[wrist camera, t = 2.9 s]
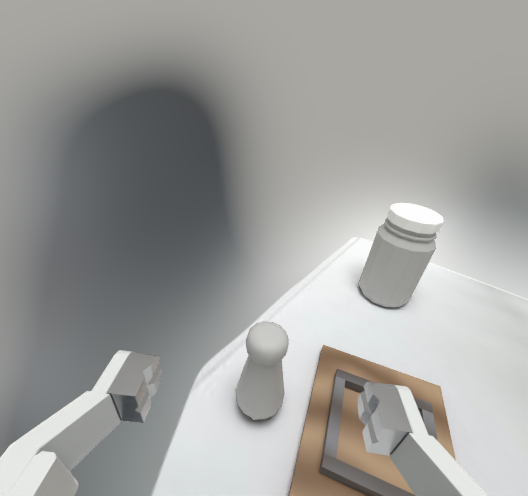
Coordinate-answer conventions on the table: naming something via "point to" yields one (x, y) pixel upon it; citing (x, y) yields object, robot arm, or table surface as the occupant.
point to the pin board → (356, 430)
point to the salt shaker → (263, 371)
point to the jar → (400, 254)
